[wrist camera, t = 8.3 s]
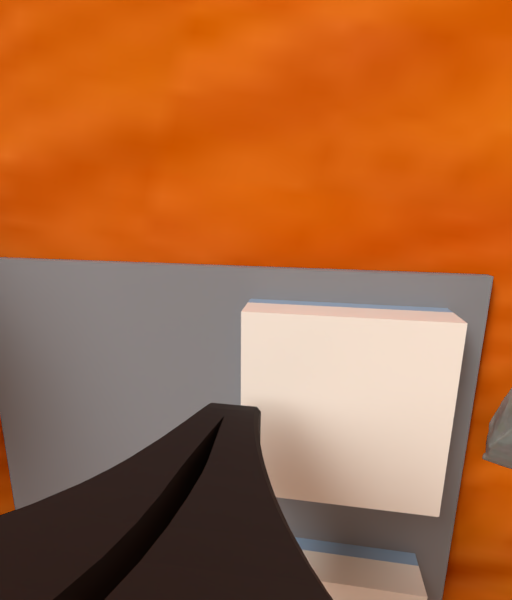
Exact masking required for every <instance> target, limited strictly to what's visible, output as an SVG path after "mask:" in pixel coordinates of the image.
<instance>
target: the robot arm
mask: <svg viewBox="0 0 512 600" xmlns="http://www.w3.org/2000/svg"><path fill="white" fill-rule="evenodd" d="M260 434H261V411H260V410H259V409H258V407H255V406H243V405H232V404H221V403H210V404H208V405H207V406H205V407H204V408H202V409H201V410H199V411H198V412H197V413H195V414H194V415H193V416H191V417H190V418H188V419H187V420H186V421H184V422H183V423H181V424H180V425H179V426H177V427H176V428H174V429H173V430H172V431H170V432H169V433H167V434H166V435H164V436H163V437H161V438H160V439H158V440H157V441H155V442H154V443H152V444H150V445H149V446H147V447H146V448H144V449H142V450H141V451H139V452H138V453H136V454H135V455H133V456H131V457H130V458H128V459H126V460H124V461H123V462H121V463H119V464H117V465H116V466H114V467H112V468H110V469H108V470H106V471H104V472H102V473H100V474H98V475H96V476H94V477H92V478H90V479H88V480H86V481H84V482H82V483H80V484H78V485H75V486H73V487H71V488H68V489H66V490H63V491H61V492H59V493H56V494H54V495H52V496H49V497H47V498H45V499H42V500H40V501H38V502H35V503H33V504H30V505H28V506H25V507H22V508H19V509H17V510H14V511H11V512H8V513H6V514H3V515H0V600H333V599H332V597H331V596H330V594H329V593H328V592H327V590H326V588H325V587H324V585H323V584H322V582H321V581H320V579H319V578H318V576H317V575H316V573H315V571H314V570H313V568H312V567H311V565H310V563H309V562H308V560H307V558H306V556H305V555H304V553H303V551H302V549H301V547H300V546H299V544H298V542H297V540H296V538H295V537H294V535H293V533H292V531H291V529H290V527H289V525H288V523H287V521H286V519H285V517H284V515H283V512H282V510H281V508H280V506H279V503H278V501H277V498H276V496H275V493H274V491H273V488H272V485H271V482H270V479H269V476H268V473H267V470H266V466H265V463H264V459H263V455H262V450H261V445H260Z"/></svg>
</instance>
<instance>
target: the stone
mask: <svg viewBox="0 0 512 600" xmlns="http://www.w3.org/2000/svg"><path fill="white" fill-rule="evenodd" d="M483 459H484V460H487V461H490V462H493V463H495V464H498V465H501V466H504V467H507V468H511V469H512V388H511V390H510V391H509V393H508V394H507V396H506V397H505V398H504V400H503V401H502V403H501V405H500V407H499V408H498V410H497V411H496V413H495V415H494V416H493V418H492V420H491V421H490V424H489V433H488V435H487V441H486V453H484V454H483Z"/></svg>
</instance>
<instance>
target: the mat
mask: <svg viewBox="0 0 512 600" xmlns="http://www.w3.org/2000/svg"><path fill="white" fill-rule="evenodd" d="M492 283H493V276H490V275H487V274H459V273H430V272H402V271H374V270H346V269H317V268H289V267H261V266H233V265H204V264H176V263H148V262H120V261H92V260H63V259H35V258H7V257H0V416H1V422H2V429H3V435H4V441H5V448H6V454H7V460H8V467H9V473H10V479H11V486H12V492H13V498H14V505H15V510H17V509H19V508H22V507H25V506H28V505H30V504H33V503H35V502H38V501H40V500H42V499H45V498H47V497H49V496H52V495H54V494H56V493H59V492H61V491H63V490H66V489H68V488H71V487H73V486H75V485H78V484H80V483H82V482H84V481H86V480H88V479H90V478H92V477H94V476H96V475H98V474H100V473H102V472H104V471H106V470H108V469H110V468H112V467H114V466H116V465H117V464H119V463H121V462H123V461H124V460H126V459H128V458H130V457H131V456H133V455H135V454H136V453H138V452H139V451H141V450H142V449H144V448H146V447H147V446H149V445H150V444H152V443H154V442H155V441H157V440H158V439H160V438H161V437H163V436H164V435H166V434H167V433H169V432H170V431H172V430H173V429H174V428H176V427H177V426H179V425H180V424H181V423H183V422H184V421H186V420H187V419H188V418H190V417H191V416H193V415H194V414H195V413H197V412H198V411H199V410H201V409H202V408H204V407H205V406H207V405H208V404H210V403H221V404H232V405H241V311H242V310H243V308H244V307H245V306H246V304H247V303H248V301H249V300H250V299H266V300H287V301H308V302H329V303H350V304H371V305H392V306H413V307H434V308H448V309H449V310H451V311H452V312H453V313H454V314H456V315H457V316H458V317H460V318H461V319H462V320H464V321H465V322H466V323H468V324H467V331H466V338H465V345H464V351H463V358H462V365H461V372H460V379H459V385H458V392H457V399H456V406H455V412H454V419H453V426H452V433H451V439H450V446H449V453H448V460H447V467H446V473H445V480H444V487H443V494H442V500H441V507H440V514H439V517H434V516H426V515H417V514H409V513H401V512H393V511H385V510H376V509H368V508H360V507H352V506H343V505H335V504H327V503H319V502H311V501H302V500H294V499H286V498H278V497H276V498H277V501H278V503H279V506H280V508H281V510H282V512H283V515H284V517H285V519H286V521H287V523H288V525H289V527H290V529H291V531H292V533H293V535H294V537H298V538H305V539H313V540H320V541H327V542H335V543H342V544H350V545H357V546H364V547H372V548H379V549H386V550H394V551H401V552H408V553H415V555H416V558H417V562H418V565H419V569H420V572H421V576H422V579H423V583H424V586H425V590H426V593H427V597H428V598H427V600H442V597H443V591H444V584H445V578H446V572H447V566H448V559H449V553H450V547H451V540H452V534H453V528H454V522H455V515H456V509H457V503H458V497H459V490H460V484H461V478H462V471H463V465H464V459H465V453H466V446H467V440H468V434H469V427H470V421H471V415H472V409H473V402H474V396H475V390H476V384H477V377H478V371H479V365H480V358H481V352H482V346H483V340H484V333H485V327H486V321H487V315H488V308H489V302H490V296H491V289H492Z"/></svg>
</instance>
